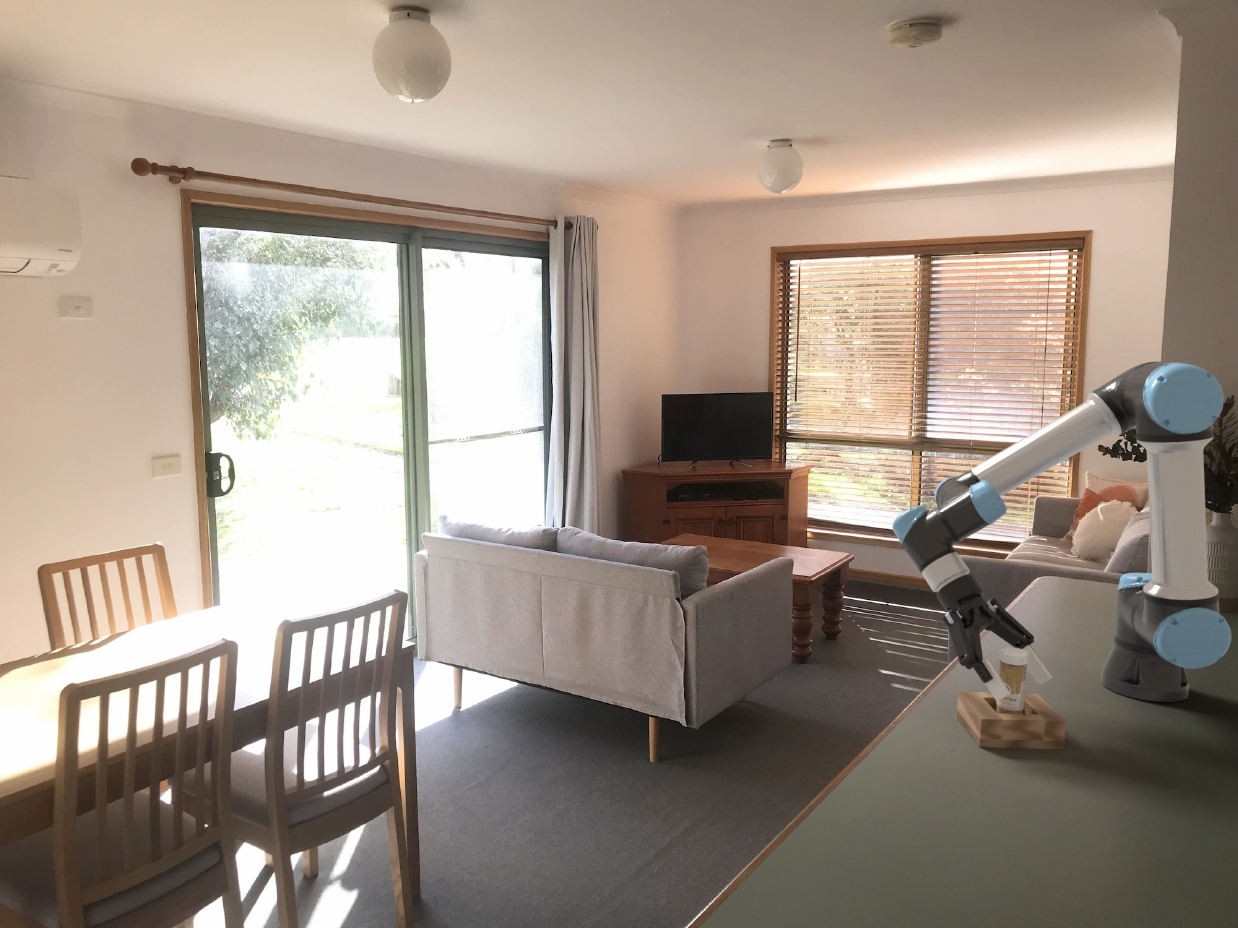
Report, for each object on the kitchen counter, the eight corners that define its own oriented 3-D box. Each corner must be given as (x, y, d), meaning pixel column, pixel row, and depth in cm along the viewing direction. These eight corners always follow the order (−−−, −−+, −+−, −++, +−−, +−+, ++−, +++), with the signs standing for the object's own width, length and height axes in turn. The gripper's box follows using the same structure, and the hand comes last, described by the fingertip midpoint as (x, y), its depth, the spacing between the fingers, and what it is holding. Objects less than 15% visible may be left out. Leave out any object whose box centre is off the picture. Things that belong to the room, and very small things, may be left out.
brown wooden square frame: (1034, 719, 166) (1036, 693, 165) (1063, 749, 154) (1066, 721, 153) (956, 717, 166) (958, 691, 166) (979, 747, 155) (981, 718, 154)
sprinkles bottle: (991, 724, 160) (996, 650, 158) (999, 716, 163) (1004, 644, 162) (1018, 732, 157) (1024, 656, 155) (1026, 723, 160) (1032, 649, 159)
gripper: (978, 584, 177) (1047, 684, 167) (897, 604, 163) (968, 715, 152) (1005, 563, 172) (1078, 664, 162) (924, 582, 158) (999, 695, 147)
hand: (1025, 689), depth 157 cm, fingers open, 12 cm apart
